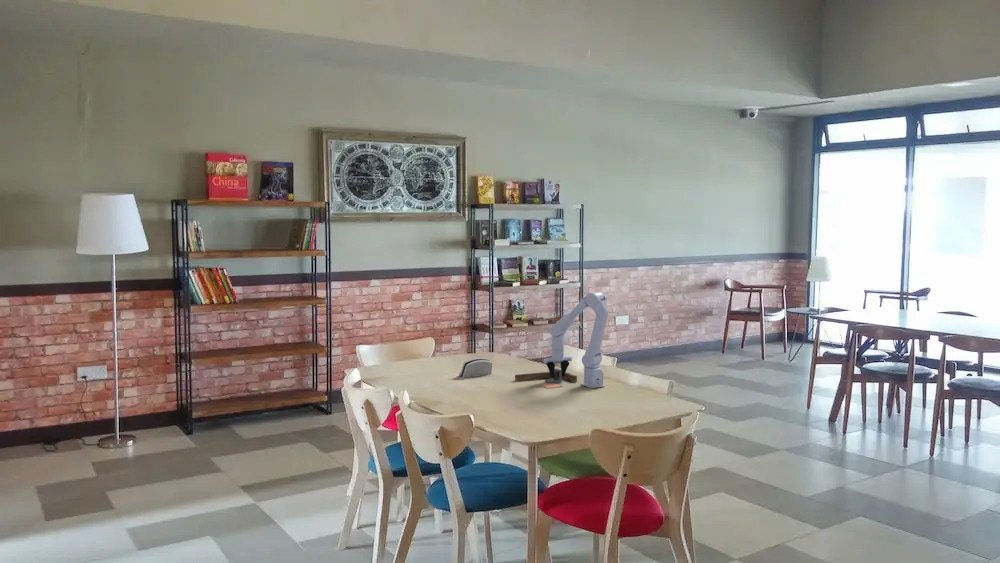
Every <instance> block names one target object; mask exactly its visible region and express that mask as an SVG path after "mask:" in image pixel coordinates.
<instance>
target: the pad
mask: <svg viewBox="0 0 1000 563" xmlns="http://www.w3.org/2000/svg"><path fill="white" fill-rule="evenodd" d="M540 385H541V387H543V388H545V387H546V388H545V389H554V388H555V389H556V387H557V388H563V385H560V384H559V383H541V384H539V386H540Z"/></svg>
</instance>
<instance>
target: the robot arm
mask: <svg viewBox="0 0 1000 563" xmlns="http://www.w3.org/2000/svg"><path fill="white" fill-rule="evenodd" d="M607 300H608V299H607V297H606V295H605V294H604V293H603V292H601V291H595V292H589V293H587V294H586V295H585V296H584V297H583V298H582V299H581V300H580V301H579V302H578V304H577V305H576V306H575V307H574V308H573V309H572V310H571V311H570V312H566V313H563V314H562V317H561V318H560V319H559V320H557V321H556V322H555V324H552V325H551V326H550V328H549V333H550V335H551V357H547V358H543V362H542V363H543V364H545V365H546V366H547V367H546V368H547V369H548V372H550V376H551V377H552V378H554V368H556V363H560V370H562V377H565V373H566V372H567V369H568V368H569V365H570V362H572V360H573V357H572V356H564V354H565V350H564V349H565V334H566V333H567V330H568V329H569V328H570V327H571V326H573V324H574V323H575V322H576V318H577V317H578V316H579V315H580V314H581V313H582V312H583V311H584V310H586V309H587V308H590V309H591V310H592V311H593V312H594V313H595V319H594V324H593V328H592V332H591V336H590V340H589V344H588V347H587V348H586V350H585V352H584V355H582V357H581V362H582V365H583V382H580V385H581V386H583V387H587V388H589V389H594V388H604V387H605V385H604V373H603V370H602V369H601V368H600V364H601V362H602V360H603V357H602V351H603V350H602V349H601V345H602V341H603V337H604V333H605V329H606V325H607V322H608V321H607V320H608V317H609V308H608V303H607Z"/></svg>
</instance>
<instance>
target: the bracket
mask: <svg viewBox="0 0 1000 563" xmlns="http://www.w3.org/2000/svg"><path fill="white" fill-rule="evenodd" d="M545 381H546V382H545ZM562 381H563V378H562V370H561V369H559V368H556V367H555V368H554V378H548V379H544V382H545V383H547V384H550V383H555V384H561V383H562Z"/></svg>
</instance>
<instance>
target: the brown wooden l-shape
mask: <svg viewBox="0 0 1000 563" xmlns="http://www.w3.org/2000/svg"><path fill="white" fill-rule="evenodd" d="M544 378H548V379H550V378H552V377H551V376H550V372H549V371H541V372H532V373H531V372H530V373H520V374H514V381H515V382H525V381H526V380H527V381H535V380H534V379H538V380H545V379H544ZM562 379H564V380H566V381H569V382H572V383H577V382H578V376H577V375H576V374H573V373H570V372H567V371H566V373H565V377H562Z"/></svg>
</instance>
